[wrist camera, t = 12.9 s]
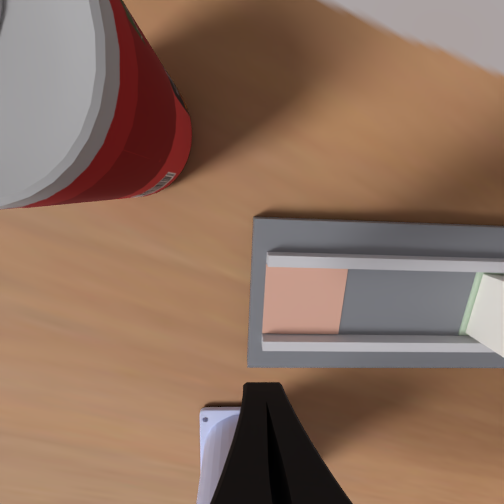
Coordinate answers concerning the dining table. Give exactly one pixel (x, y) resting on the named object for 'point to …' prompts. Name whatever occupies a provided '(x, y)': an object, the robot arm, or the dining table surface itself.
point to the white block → (489, 313)
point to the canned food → (84, 106)
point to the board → (368, 293)
